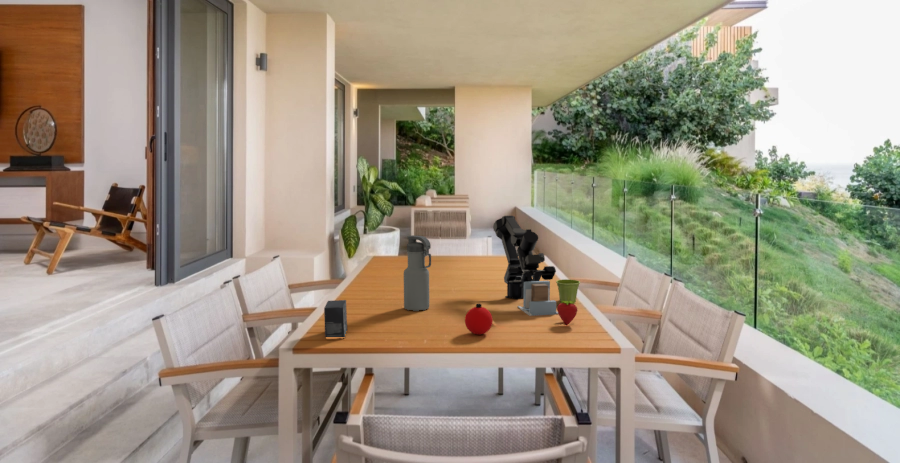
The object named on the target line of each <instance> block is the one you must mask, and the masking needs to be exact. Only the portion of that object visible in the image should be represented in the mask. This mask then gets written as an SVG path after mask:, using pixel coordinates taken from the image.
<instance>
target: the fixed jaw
mask: <svg viewBox="0 0 900 463" xmlns="http://www.w3.org/2000/svg"><path fill="white" fill-rule="evenodd" d="M556 311H557V301H556V300H554V299H553V300H552V299H551V300H550V301H531V302H529V313H531V314H532V315H536V316H541V315H540V314H554V315H557V314H556Z"/></svg>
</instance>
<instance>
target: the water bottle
mask: <svg viewBox="0 0 900 463" xmlns="http://www.w3.org/2000/svg"><path fill="white" fill-rule="evenodd" d="M407 240H408V241H407V244H406V253H407V267H406V268H405V269H404V271H403V309H405V310H406V309H407V310H406V311H409V310H413V311H412V312H420V311H419V310H423V311H426V309H427V310H428V309H429V308H430V270H429V269H428V268H431V265H432V254H431V253H430V249H431V242H430V240H429V238H427V237H426V236H423V235H407ZM426 257H428V264H427V265H426V264H425V263H426V261H425V260H426Z"/></svg>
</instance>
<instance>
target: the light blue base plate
mask: <svg viewBox="0 0 900 463" xmlns="http://www.w3.org/2000/svg"><path fill="white" fill-rule="evenodd" d="M517 308H518V309H519V310H521V311H522V312H523V313H525V314H526V315H527V316H529V317H532V316H533V317H534V316H535V317H536V316H537V315H532V314H531V313H529V309H524V308H523V306H520V305H517ZM551 315H559V314H558V311H557V310H556V314H540V315H539V316H551Z"/></svg>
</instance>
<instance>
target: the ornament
mask: <svg viewBox="0 0 900 463" xmlns="http://www.w3.org/2000/svg"><path fill="white" fill-rule="evenodd" d="M464 318H465V319H464V323H465V327H466V329H467V330H468V331H469V332H470V333H471V334H474V335H478V336H479V335H484V334H486V333H488V332H489V331H490V330H491V328H492V327H493V326H492V325H493V320H494V318H493V316H492V313H491V312H490V310H489V309H487V308H486V307H484V306H482V304H481V303H476V304H475V306H474V307H472V308H470V309H469V310H468V311H467V312H466V314H465V317H464Z"/></svg>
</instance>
